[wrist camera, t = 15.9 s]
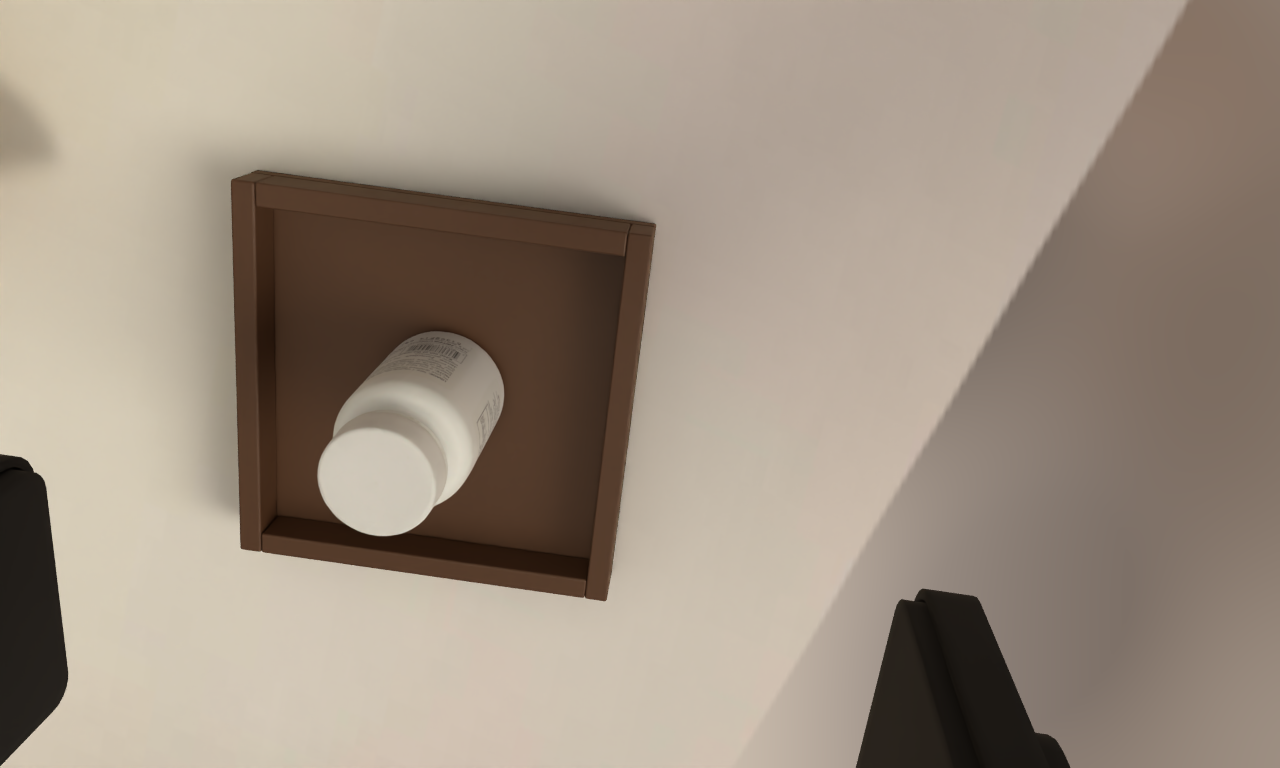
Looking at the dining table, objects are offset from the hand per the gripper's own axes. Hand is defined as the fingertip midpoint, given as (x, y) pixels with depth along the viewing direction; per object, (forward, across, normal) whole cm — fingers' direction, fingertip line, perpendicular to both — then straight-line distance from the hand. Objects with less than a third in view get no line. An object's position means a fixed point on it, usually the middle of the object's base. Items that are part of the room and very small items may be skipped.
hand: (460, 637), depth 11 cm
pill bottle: (+23, +6, +7) cm, 25 cm away
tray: (+24, +6, +7) cm, 25 cm away
